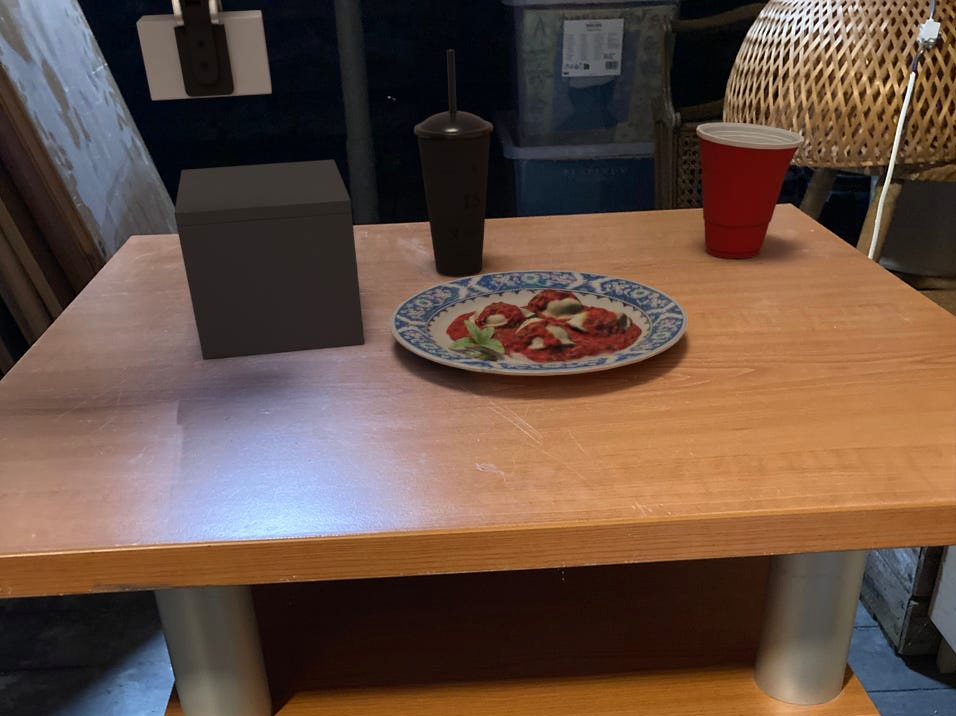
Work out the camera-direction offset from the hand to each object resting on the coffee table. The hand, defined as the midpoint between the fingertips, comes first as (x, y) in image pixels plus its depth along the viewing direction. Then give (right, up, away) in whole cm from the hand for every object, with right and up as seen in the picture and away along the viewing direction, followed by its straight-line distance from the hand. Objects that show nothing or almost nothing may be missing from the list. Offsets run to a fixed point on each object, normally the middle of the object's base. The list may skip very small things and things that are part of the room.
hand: (211, 86), depth 69 cm
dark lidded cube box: (0, -8, +24) cm, 26 cm away
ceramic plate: (+24, -12, +19) cm, 33 cm away
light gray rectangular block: (0, 0, 0) cm, 0 cm away
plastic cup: (+46, +3, +39) cm, 60 cm away
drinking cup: (+16, 0, +36) cm, 39 cm away
